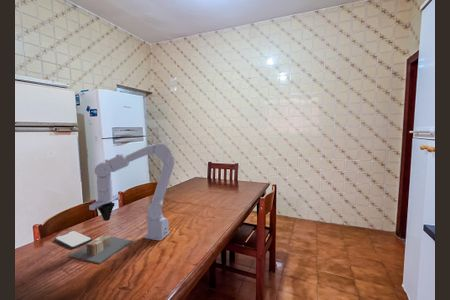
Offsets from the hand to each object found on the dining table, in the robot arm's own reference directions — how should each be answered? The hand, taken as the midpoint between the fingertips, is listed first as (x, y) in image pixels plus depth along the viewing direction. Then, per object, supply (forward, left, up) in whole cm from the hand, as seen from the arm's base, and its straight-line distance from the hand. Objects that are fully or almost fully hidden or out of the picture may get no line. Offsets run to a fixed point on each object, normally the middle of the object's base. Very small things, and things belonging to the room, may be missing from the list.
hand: (106, 220), depth 95 cm
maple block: (-2, +2, -8) cm, 8 cm away
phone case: (+16, +3, -11) cm, 20 cm away
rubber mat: (-2, +5, -10) cm, 11 cm away
